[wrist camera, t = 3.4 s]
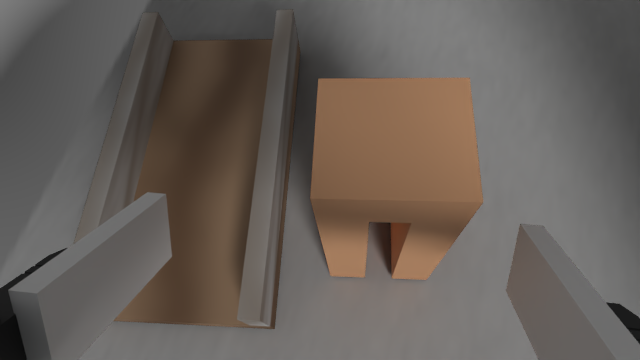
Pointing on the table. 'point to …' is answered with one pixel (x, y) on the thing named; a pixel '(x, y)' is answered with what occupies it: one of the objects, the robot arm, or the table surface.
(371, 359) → the table surface
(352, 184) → the clip
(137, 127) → the rail
